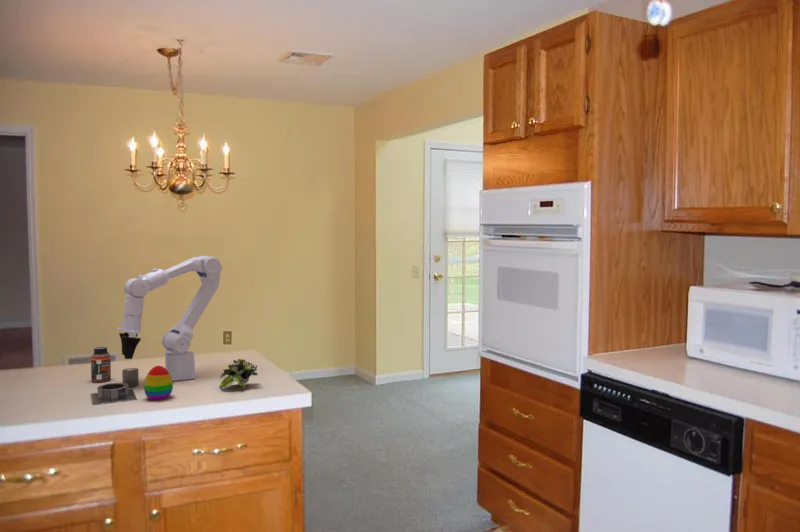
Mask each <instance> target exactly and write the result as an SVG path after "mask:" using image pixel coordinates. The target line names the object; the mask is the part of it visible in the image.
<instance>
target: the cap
mask: <svg viewBox="0 0 800 532" xmlns="http://www.w3.org/2000/svg"><path fill="white" fill-rule="evenodd" d="M121 373H122V383H126V384H128V385H129V389H134V387H135V388H138V387H139V386H140V385H139V378H140V375H139V368H138V367H129V368H128V367H127V368H123V369H122V371H121ZM137 386H138V387H137Z"/></svg>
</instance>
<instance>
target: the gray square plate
mask: <svg viewBox="0 0 800 532" xmlns="http://www.w3.org/2000/svg"><path fill="white" fill-rule="evenodd" d="M133 389H134V388H129V385H128V384H126V383H123V382H111V383H110V382H109V383H105V384H101V385H99V386H98V387H97V391H96V392H94V393H90V399H91V402H92V406H94V404H96V405H102V404H101V403H105V404H111V402H113V403H119V402H118V401H121V402H128V401H127V400H129V401H136V400H138V399H137V396H136V394H135V391H134V390H133Z"/></svg>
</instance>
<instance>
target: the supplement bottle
mask: <svg viewBox="0 0 800 532" xmlns="http://www.w3.org/2000/svg"><path fill="white" fill-rule="evenodd" d="M111 366H112V365H111V354H110V353H109V351H108V347H107V346H96V347H93V353H92V355H91V356H90V370H91V371H90V372H91V373H90V375H91V379H90V380H91V381H92V382H93V383H105V382H108V381H110V380H111V379H112V378H111V377H112V374H111V373H112V372H111V370H112V369H111Z"/></svg>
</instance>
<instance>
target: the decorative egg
mask: <svg viewBox="0 0 800 532" xmlns="http://www.w3.org/2000/svg"><path fill="white" fill-rule="evenodd" d="M144 379H145V380H144V382H143V383H144V385H143V388H144V393H145V396H146V397H147V398H148V400H150V401H164V400H166V399H168V398H169V397H170V396H171V394H172V392H173V388H174V387H173V386H174V381H172V378H171V375H170V373H169V372H168V371H167V369H165V366H161V365H156V366H154V367H152V368H151V369H150V370H149V371H148V372H147V375H146V376H145V378H144Z"/></svg>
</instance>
